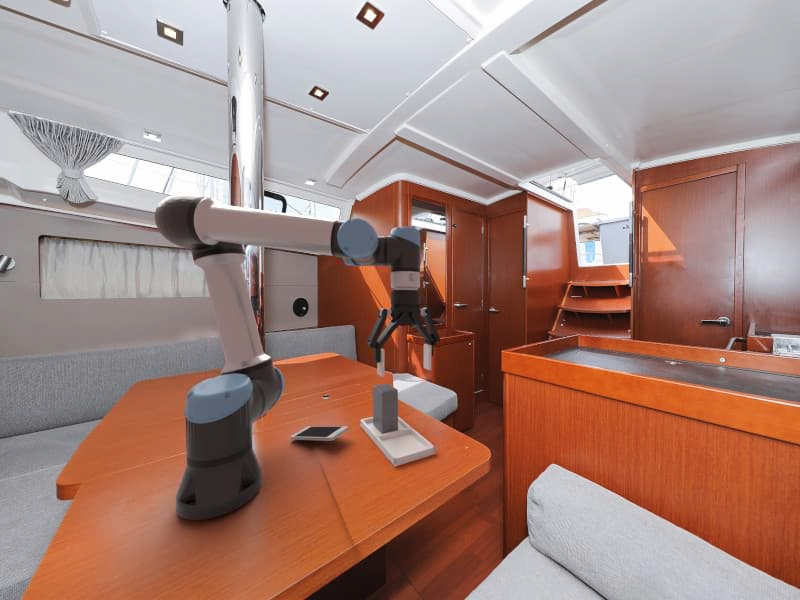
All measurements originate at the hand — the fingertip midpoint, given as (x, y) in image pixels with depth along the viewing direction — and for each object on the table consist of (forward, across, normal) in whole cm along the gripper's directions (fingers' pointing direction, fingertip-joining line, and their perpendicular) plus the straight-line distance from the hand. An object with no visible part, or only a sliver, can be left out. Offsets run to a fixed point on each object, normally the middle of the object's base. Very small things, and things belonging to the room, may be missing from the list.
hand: (405, 372), depth 73 cm
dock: (+20, 0, +7) cm, 22 cm away
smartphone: (+19, -14, +10) cm, 26 cm away
